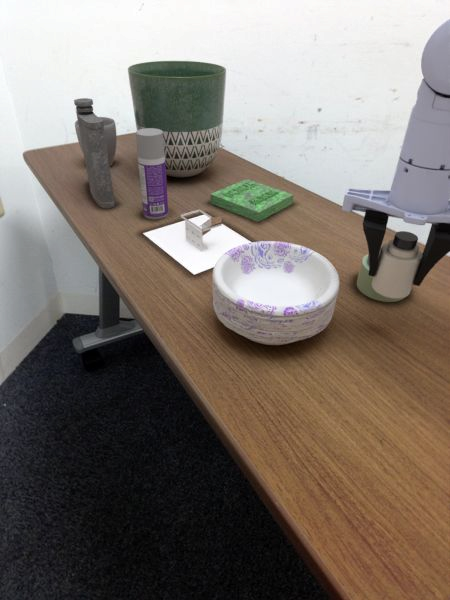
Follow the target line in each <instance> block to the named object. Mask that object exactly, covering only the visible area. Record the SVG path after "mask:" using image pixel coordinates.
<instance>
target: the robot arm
mask: <svg viewBox="0 0 450 600" xmlns="http://www.w3.org/2000/svg"><path fill="white" fill-rule="evenodd" d="M420 62H421V63H420V67H421V74H422V76H423V78H422V79H421V82H420V84H419V87H418V90H417V94H416V99H415V100H416V101H415V104H414V105H413V106H412V108H411V112H410V115H409V118H408V119H409V120H408V123H407V126H406V130H405V133H404V138H403V142H402V145H401V149H400V152H399V157H398V161H397V165H396V168H395V171H394V175H393V179H392V183H391V186H390V190H388V189H387V190H386V189H384V190H383V189H359V188H350V187H347V188H346V191H345V193H344V195H343V196H344V198H343V202H342V206H341V211H342V212H347V213H352V212H353V211H355V212H361V213H364V217H363V220H362V230H363V234H364V236H365V240H366V245H367V250H368V253H369V274H368V275H369V276H375V273H376V269H377V263H378V258H379V252H380V249H381V248H382V246H383V243H384V242H383V241H384V238H385V235H386V232H387V226H388V222H389V218H396V219H402V221H403V222H404V223H406V224H410V225H411V224H412V225H416V226H425V225H426V224H430V225H431V226H430V229H429V231H428V232H429V233H428V235H427V239H426V243H425V245H424V248H423V251H422V255H423V257H422V260H421V263H420V265H419V268H418V271H417V274H416V277H415V279H414V282H413V285H412V286H417V287H420V286H421V284H422V283H423V281H424V279H425V278H426V277H427V275H428V274H429V273H430V271H431V270H432V269H433V268H434V267H435V265H437V264H438V263H439V262H440V261H441V260H442V258H444V257H445V256H446V255H448V254H449V253H450V18H449V19H448V20H446V21H444V22H443V23H442V24H441V25H439V26H438V27H437V28H435V30H434V31H433V32H432V34H431V35H430V37H429V38H428V40H427V42H426V43H425V45H424V48H423V51H422V54H421V59H420Z"/></svg>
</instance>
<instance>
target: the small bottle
mask: <svg viewBox="0 0 450 600" xmlns="http://www.w3.org/2000/svg"><path fill="white" fill-rule="evenodd" d="M418 242H419V237H418V235H416V234H415V233H412V232H411V231H406V230H405V231H404V230H403V231H401V230H400V231H397V232H395V234H394V236H393V238H392V239H390V240H389V241H388V242H386V243H384V244H382V245H381V251H380V255H379V259H378V263H377V269H376V273H375V276H373V280H372V287H373V289H374V290H375V291H376V292H377V293H379V294H381V295H383V296H385V297H389V298H404V297H405V298H406V297H408V296H409V295H410V293H411V291H412V288H413V286H414V285H413V282H414V279H415V277H416V274H417V271H418V268H419V265H420V263H421V260H422V257H423V255H422V253H423V251H421V249H420V247H419V246H420V245H418V244H417V243H418ZM405 298H404V299H405Z"/></svg>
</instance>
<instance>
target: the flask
mask: <svg viewBox="0 0 450 600" xmlns="http://www.w3.org/2000/svg"><path fill="white" fill-rule="evenodd" d="M73 102H74V106H75V113H76V118H77V120H78V125H79V130H80V136H81V141H82V147H83V152H84V154H83V157H84V162H85V168H86V175H87V180H88V185H89V191H90V194H91V197H92V199H93V200H94V201H95V203H96V204H97V205H98V206H99V207H100V208H102V209H111V208H114V207H115V206H116V201H115V194H114V187H113V181H112V173H111V168H110V167H111V166H109V160H108V153H107V146H106V139H105V132H104V125H103V120H102V119H101V118H99V117H100V116H98V115H97V114H96V113H94V106H93V105H94V100H93V99H92V98H88V97H86V98H85V97H84V98H83V97H82V98H76V99H74V100H73ZM83 152H82V153H83Z"/></svg>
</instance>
